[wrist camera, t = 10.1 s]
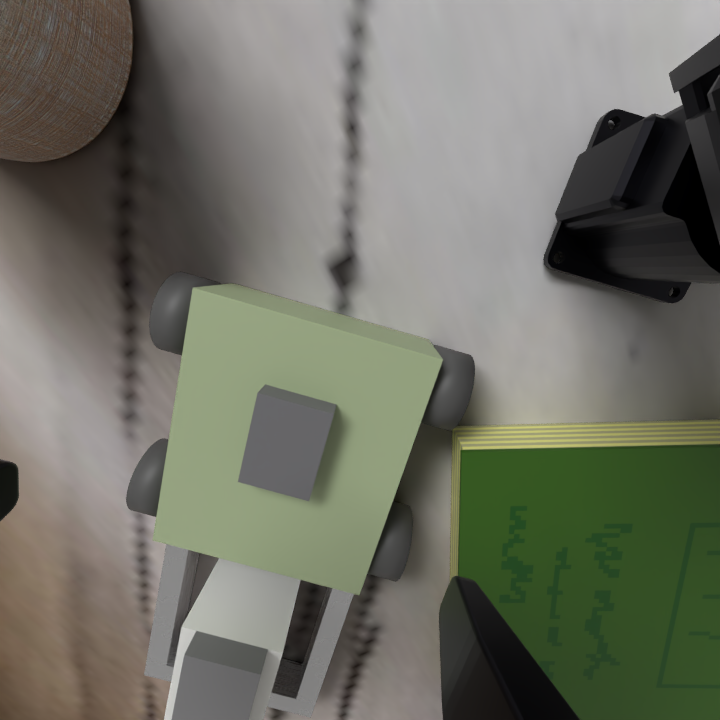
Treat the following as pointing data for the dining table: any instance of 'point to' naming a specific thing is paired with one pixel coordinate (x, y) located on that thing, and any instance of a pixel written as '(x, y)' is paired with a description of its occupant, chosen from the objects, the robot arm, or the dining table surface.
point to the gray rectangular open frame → (293, 679)
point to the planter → (60, 74)
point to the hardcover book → (600, 556)
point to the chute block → (232, 645)
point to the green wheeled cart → (290, 432)
